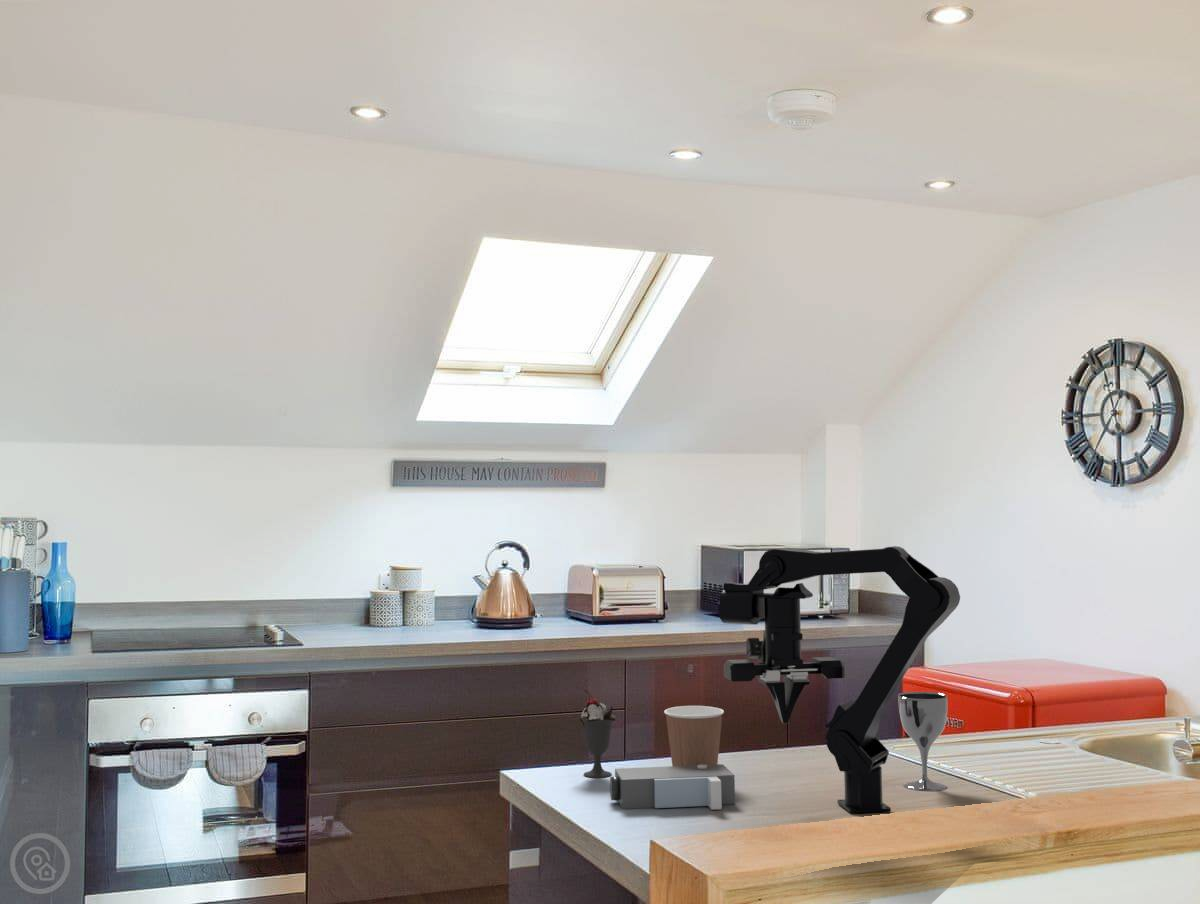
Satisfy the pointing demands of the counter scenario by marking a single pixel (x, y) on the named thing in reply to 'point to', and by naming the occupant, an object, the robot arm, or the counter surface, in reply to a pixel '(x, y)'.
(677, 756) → the coffee cup
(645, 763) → the counter surface
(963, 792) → the counter surface
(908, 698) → the wine glass
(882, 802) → the robot arm
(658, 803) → the side door
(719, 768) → the sliding door box
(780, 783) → the counter surface
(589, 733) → the sundae
